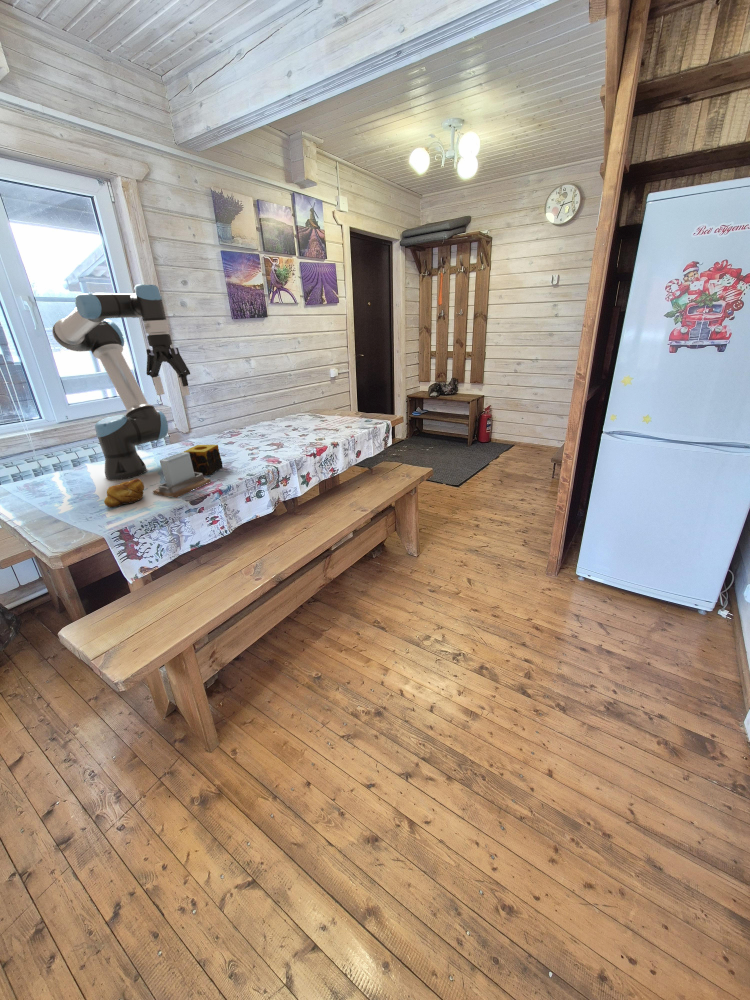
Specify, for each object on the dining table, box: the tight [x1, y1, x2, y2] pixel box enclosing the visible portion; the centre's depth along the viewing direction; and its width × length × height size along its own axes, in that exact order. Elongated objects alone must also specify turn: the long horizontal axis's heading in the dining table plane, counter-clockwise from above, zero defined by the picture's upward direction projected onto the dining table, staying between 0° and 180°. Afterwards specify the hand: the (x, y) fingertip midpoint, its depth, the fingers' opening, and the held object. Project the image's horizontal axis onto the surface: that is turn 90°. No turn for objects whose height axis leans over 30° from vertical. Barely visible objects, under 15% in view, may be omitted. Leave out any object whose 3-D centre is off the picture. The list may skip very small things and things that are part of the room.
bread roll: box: [103, 478, 145, 508], centre depth 144 cm, size 13×10×8 cm
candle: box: [183, 444, 224, 476], centre depth 170 cm, size 10×10×10 cm
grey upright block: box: [159, 451, 195, 487], centre depth 153 cm, size 4×10×11 cm, turn 154°
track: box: [152, 472, 212, 499], centre depth 155 cm, size 12×16×3 cm
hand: (173, 395), depth 156 cm, fingers open, 13 cm apart
